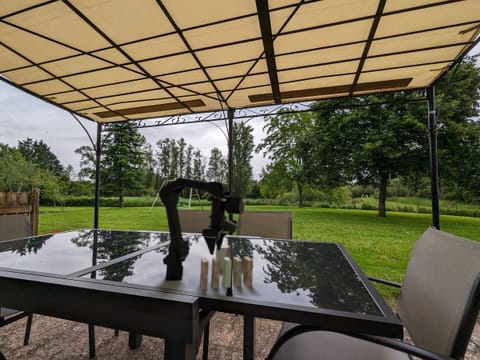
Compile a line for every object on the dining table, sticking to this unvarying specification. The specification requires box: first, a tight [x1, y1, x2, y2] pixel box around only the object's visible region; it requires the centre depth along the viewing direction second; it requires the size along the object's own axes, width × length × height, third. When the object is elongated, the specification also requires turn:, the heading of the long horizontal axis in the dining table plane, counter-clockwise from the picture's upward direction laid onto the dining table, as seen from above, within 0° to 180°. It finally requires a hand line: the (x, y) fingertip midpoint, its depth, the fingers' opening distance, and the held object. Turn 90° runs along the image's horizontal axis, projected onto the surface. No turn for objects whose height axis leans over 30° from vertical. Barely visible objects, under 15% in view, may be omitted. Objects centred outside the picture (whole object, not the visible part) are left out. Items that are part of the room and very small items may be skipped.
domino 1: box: [199, 257, 209, 290], centre depth 89 cm, size 2×6×10 cm, turn 17°
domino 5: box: [242, 256, 254, 287], centre depth 94 cm, size 2×6×10 cm, turn 17°
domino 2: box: [210, 257, 221, 290], centre depth 90 cm, size 2×6×10 cm, turn 17°
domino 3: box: [221, 257, 233, 289], centre depth 92 cm, size 2×6×10 cm, turn 17°
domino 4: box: [232, 256, 243, 288], centre depth 93 cm, size 2×6×10 cm, turn 17°
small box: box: [215, 244, 231, 271], centre depth 116 cm, size 8×6×10 cm
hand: (215, 252), depth 91 cm, fingers open, 9 cm apart
